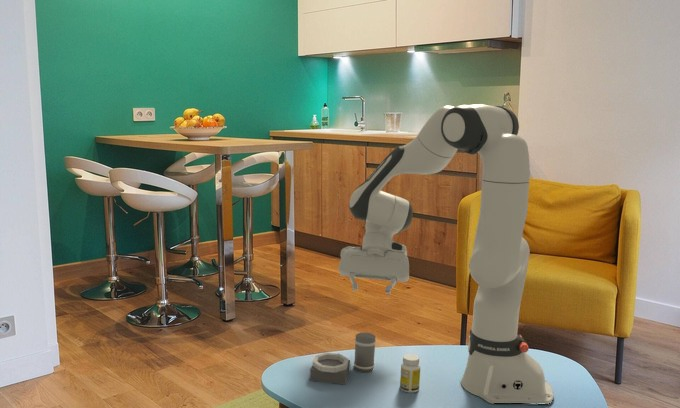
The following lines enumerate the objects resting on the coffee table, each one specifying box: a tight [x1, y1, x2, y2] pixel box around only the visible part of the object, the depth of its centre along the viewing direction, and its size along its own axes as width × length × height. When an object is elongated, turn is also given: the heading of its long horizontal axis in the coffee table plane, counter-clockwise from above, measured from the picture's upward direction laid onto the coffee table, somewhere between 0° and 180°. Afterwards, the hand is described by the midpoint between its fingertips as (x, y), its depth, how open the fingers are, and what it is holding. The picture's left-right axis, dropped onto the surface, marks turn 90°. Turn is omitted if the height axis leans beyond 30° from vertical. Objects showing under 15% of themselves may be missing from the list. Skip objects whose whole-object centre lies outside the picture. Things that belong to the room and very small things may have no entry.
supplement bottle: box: [399, 353, 421, 394], centre depth 156 cm, size 5×5×8 cm
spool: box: [353, 332, 376, 374], centre depth 167 cm, size 5×5×9 cm
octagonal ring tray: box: [309, 352, 351, 385], centre depth 162 cm, size 9×9×4 cm
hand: (371, 291), depth 177 cm, fingers open, 8 cm apart
